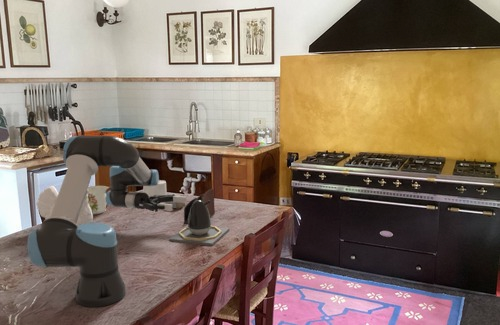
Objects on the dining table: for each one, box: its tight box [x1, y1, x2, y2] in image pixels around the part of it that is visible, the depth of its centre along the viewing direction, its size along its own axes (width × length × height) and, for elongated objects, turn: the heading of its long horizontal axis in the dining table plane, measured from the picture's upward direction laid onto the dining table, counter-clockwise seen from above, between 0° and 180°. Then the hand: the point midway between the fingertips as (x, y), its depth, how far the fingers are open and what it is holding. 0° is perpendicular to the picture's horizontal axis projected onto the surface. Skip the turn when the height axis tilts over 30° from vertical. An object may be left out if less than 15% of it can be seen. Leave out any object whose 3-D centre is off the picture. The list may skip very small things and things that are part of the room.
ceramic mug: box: [164, 192, 186, 209], centre depth 244 cm, size 11×8×8 cm
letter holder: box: [183, 188, 216, 225], centre depth 224 cm, size 10×20×14 cm, turn 169°
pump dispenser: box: [187, 200, 212, 235], centre depth 198 cm, size 10×10×15 cm
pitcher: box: [87, 185, 110, 215], centre depth 235 cm, size 11×18×14 cm, turn 80°
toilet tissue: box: [142, 179, 168, 197], centre depth 260 cm, size 11×12×10 cm
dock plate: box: [168, 225, 230, 247], centre depth 200 cm, size 20×20×2 cm
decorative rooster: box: [36, 185, 94, 226], centre depth 206 cm, size 25×16×25 cm, turn 71°
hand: (179, 203), depth 201 cm, fingers open, 13 cm apart
